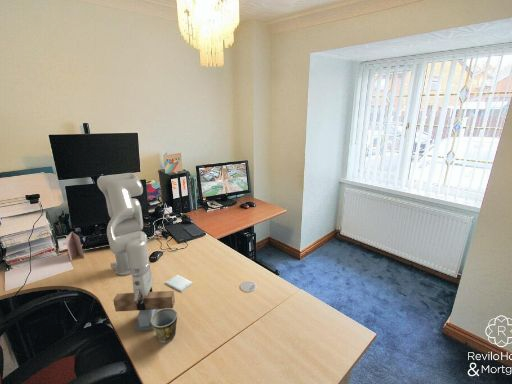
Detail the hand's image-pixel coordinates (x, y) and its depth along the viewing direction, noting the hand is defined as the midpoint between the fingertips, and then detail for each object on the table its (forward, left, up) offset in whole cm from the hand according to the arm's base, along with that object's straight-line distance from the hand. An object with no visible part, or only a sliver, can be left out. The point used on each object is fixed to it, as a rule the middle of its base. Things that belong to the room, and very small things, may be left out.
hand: (145, 301), depth 114 cm
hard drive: (+9, +24, -11) cm, 28 cm away
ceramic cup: (+11, -11, -10) cm, 19 cm away
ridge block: (0, 0, -10) cm, 10 cm away
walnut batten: (0, 0, -3) cm, 3 cm away
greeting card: (-60, +57, -10) cm, 83 cm away
